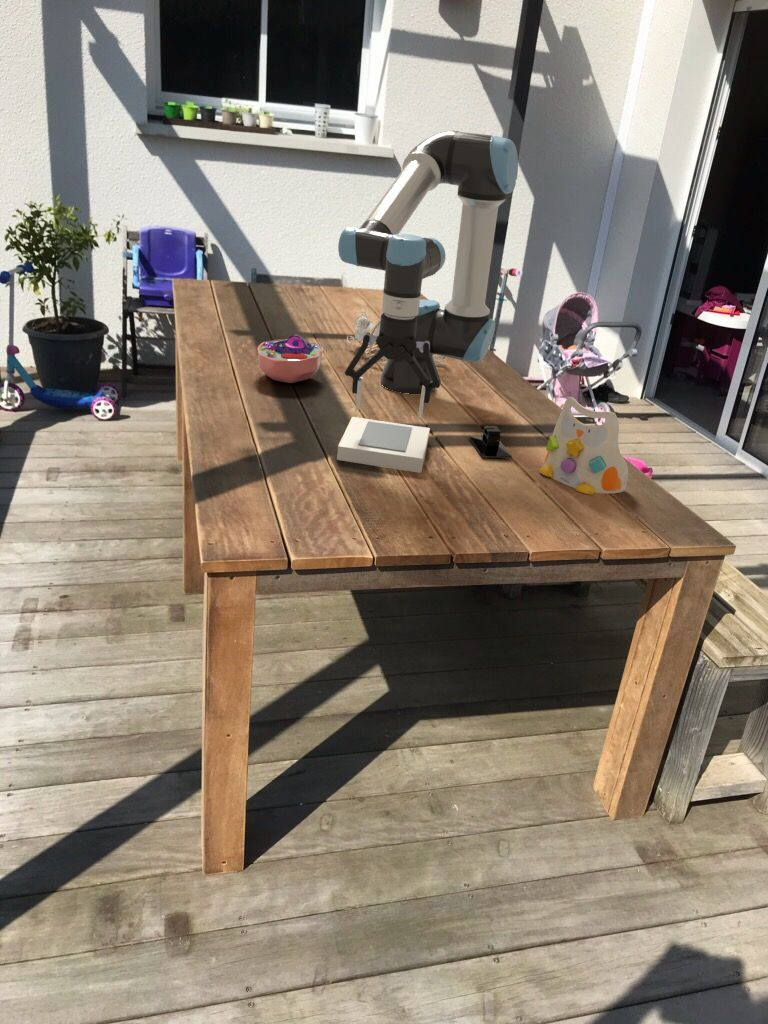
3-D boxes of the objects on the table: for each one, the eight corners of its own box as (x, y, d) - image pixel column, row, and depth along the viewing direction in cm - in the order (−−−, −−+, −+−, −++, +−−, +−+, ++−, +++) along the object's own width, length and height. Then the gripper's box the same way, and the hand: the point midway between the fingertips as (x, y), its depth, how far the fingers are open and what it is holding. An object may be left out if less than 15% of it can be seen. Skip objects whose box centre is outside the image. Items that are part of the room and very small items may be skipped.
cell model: (240, 380, 216) (241, 338, 211) (283, 364, 233) (285, 324, 227) (294, 396, 210) (297, 353, 205) (335, 378, 226) (338, 337, 221)
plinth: (350, 433, 192) (352, 415, 190) (427, 444, 191) (430, 426, 189) (336, 463, 176) (338, 444, 174) (420, 476, 175) (423, 457, 173)
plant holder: (371, 387, 236) (379, 334, 227) (334, 334, 262) (339, 285, 253) (459, 382, 246) (470, 332, 237) (415, 332, 272) (423, 285, 262)
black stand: (468, 437, 197) (470, 419, 195) (497, 438, 198) (500, 420, 196) (482, 457, 186) (485, 437, 184) (513, 457, 187) (516, 438, 185)
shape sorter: (523, 469, 184) (538, 393, 176) (550, 459, 191) (566, 385, 183) (599, 503, 172) (619, 423, 164) (625, 491, 179) (646, 414, 171)
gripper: (336, 311, 167) (329, 410, 177) (459, 327, 165) (445, 426, 175) (342, 302, 174) (335, 398, 184) (461, 318, 172) (447, 413, 182)
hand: (389, 412), depth 180 cm, fingers open, 13 cm apart
